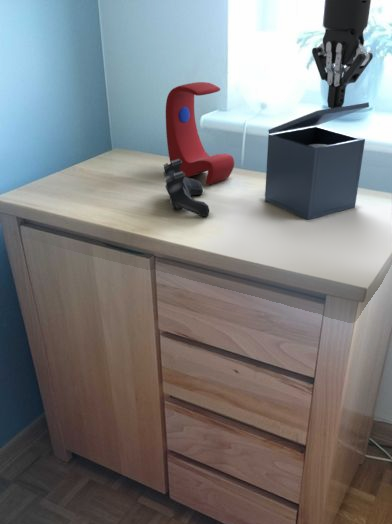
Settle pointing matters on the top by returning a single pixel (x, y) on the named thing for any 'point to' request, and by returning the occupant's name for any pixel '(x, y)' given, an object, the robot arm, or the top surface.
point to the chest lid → (318, 117)
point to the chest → (313, 171)
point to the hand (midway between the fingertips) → (334, 107)
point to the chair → (192, 135)
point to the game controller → (183, 189)
